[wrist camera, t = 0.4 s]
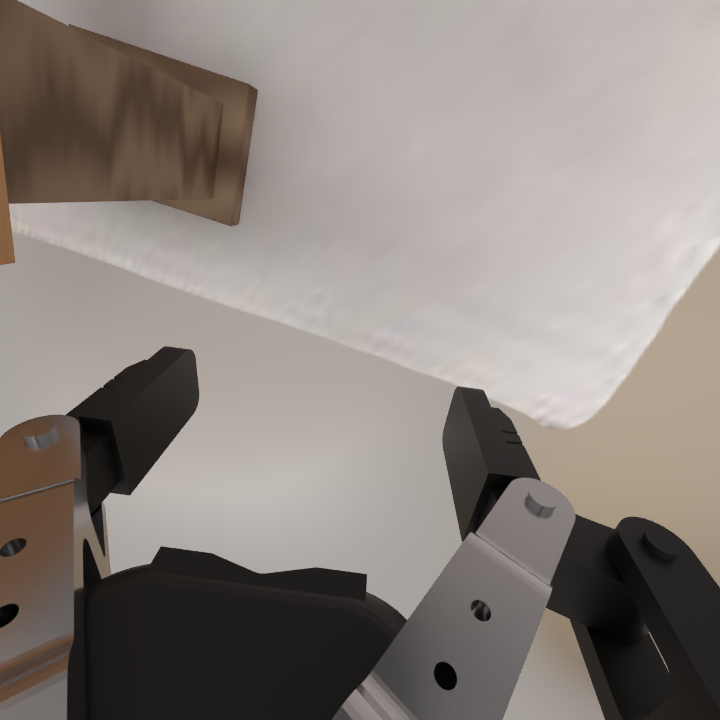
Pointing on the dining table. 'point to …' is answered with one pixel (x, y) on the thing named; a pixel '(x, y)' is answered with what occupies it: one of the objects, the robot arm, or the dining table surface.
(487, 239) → the dining table surface
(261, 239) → the dining table surface
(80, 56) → the walnut stand
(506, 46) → the dining table surface
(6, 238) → the orange bar
